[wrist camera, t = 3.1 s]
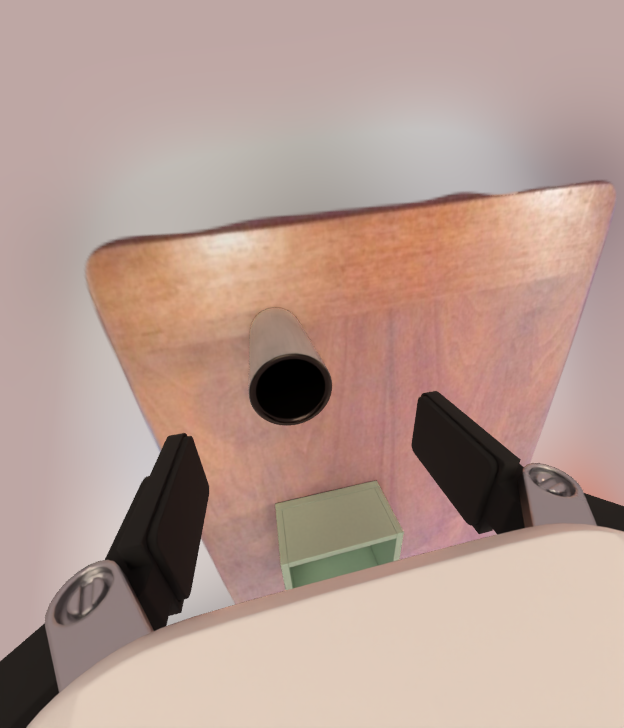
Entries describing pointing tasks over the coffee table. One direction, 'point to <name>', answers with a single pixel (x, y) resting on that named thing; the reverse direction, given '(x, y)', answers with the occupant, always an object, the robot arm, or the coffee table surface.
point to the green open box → (336, 534)
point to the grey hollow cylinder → (285, 370)
